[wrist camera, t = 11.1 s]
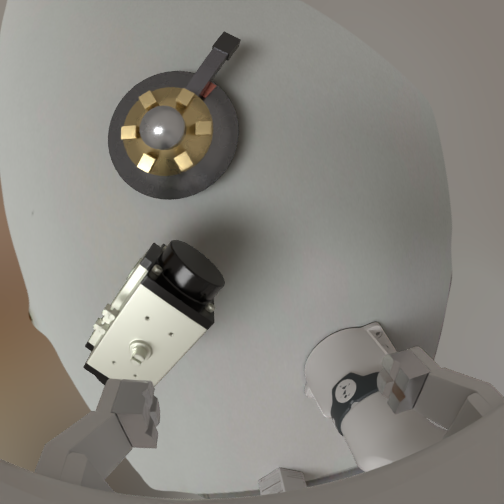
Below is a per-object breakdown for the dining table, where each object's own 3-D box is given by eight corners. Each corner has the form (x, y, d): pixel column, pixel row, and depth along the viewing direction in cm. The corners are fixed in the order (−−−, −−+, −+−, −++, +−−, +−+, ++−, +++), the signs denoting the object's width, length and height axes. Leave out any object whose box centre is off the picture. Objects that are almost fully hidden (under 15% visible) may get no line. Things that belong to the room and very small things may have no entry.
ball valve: (173, 210, 37) (143, 251, 21) (223, 249, 40) (231, 315, 23) (106, 305, 40) (61, 381, 23) (151, 336, 43) (128, 422, 26)
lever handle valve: (185, 189, 34) (182, 193, 30) (115, 152, 31) (103, 151, 27) (266, 62, 30) (272, 51, 26) (196, 27, 27) (194, 12, 23)
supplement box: (303, 471, 61) (317, 514, 47) (281, 485, 63) (291, 526, 49) (279, 466, 59) (291, 513, 45) (256, 480, 60) (265, 524, 46)
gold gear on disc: (261, 125, 35) (277, 114, 26) (184, 220, 38) (176, 239, 29) (168, 56, 31) (155, 28, 22) (94, 152, 33) (61, 151, 24)
